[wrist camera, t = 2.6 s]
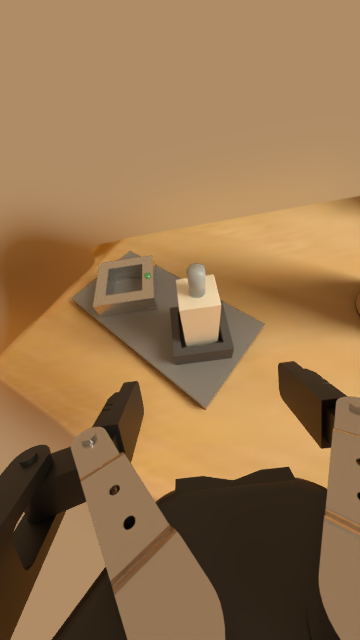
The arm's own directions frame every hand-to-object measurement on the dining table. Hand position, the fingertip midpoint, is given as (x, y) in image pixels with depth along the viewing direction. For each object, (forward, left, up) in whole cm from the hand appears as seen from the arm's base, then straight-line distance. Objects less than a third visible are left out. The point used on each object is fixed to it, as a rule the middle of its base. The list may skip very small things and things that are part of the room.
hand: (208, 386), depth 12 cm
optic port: (-8, -21, -14) cm, 27 cm away
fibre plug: (-8, -7, -14) cm, 18 cm away
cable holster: (-8, -7, -14) cm, 18 cm away
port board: (-8, -15, -16) cm, 23 cm away
